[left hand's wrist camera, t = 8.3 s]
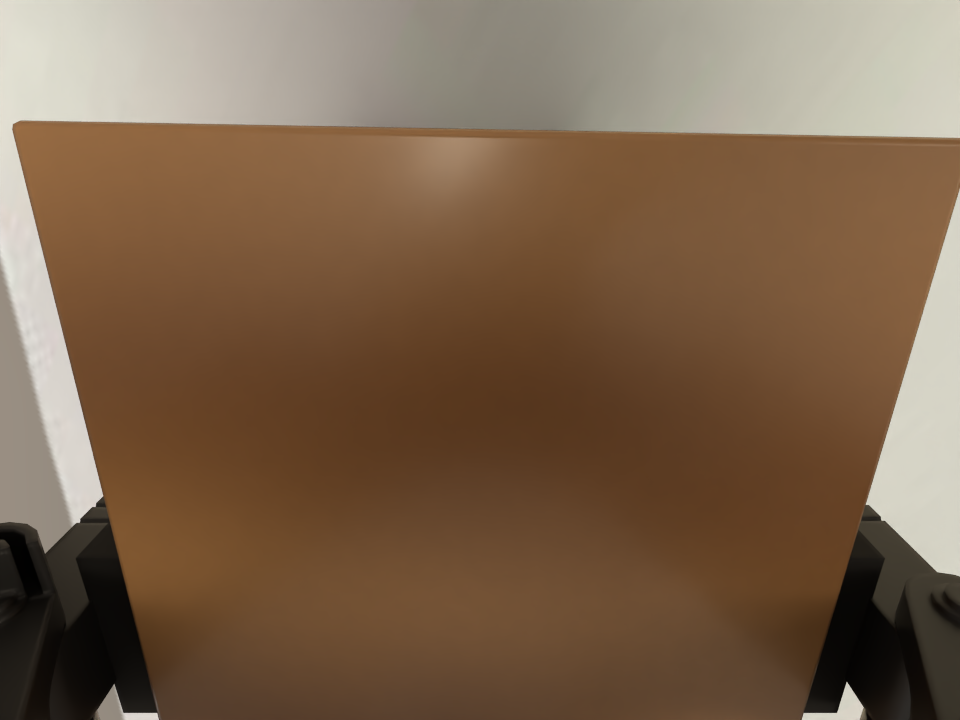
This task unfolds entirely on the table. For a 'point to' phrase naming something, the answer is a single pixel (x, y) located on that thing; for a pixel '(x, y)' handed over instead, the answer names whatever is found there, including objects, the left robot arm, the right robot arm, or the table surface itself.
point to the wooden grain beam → (484, 405)
